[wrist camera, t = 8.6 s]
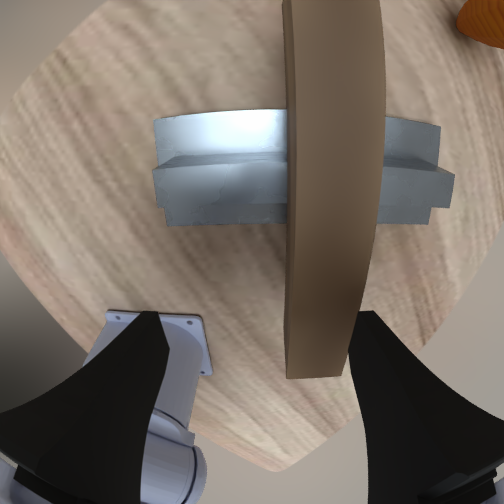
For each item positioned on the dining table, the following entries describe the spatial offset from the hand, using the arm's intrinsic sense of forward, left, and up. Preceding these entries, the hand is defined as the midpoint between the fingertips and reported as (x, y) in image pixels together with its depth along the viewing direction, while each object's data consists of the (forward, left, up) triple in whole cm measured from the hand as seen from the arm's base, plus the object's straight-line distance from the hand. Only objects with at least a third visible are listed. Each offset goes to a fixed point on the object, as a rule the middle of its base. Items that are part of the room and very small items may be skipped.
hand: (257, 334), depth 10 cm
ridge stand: (+3, +4, -10) cm, 11 cm away
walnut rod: (+3, +4, -6) cm, 7 cm away
